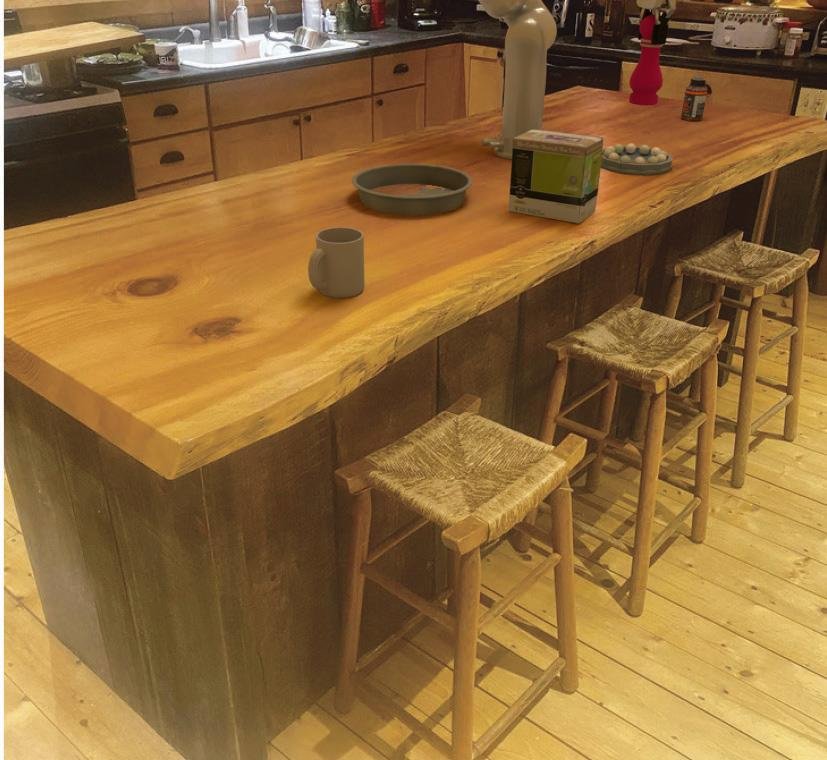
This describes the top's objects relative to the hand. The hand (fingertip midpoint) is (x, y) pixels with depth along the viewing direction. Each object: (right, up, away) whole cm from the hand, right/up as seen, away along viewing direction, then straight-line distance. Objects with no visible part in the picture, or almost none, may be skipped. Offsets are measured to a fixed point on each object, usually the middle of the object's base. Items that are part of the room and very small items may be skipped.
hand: (651, 41), depth 182 cm
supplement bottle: (+28, +1, +58) cm, 64 cm away
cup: (-64, -61, -53) cm, 103 cm away
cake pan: (-52, -37, -11) cm, 65 cm away
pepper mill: (0, -11, +7) cm, 13 cm away
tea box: (-25, -41, -17) cm, 51 cm away
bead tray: (0, -24, +13) cm, 27 cm away
